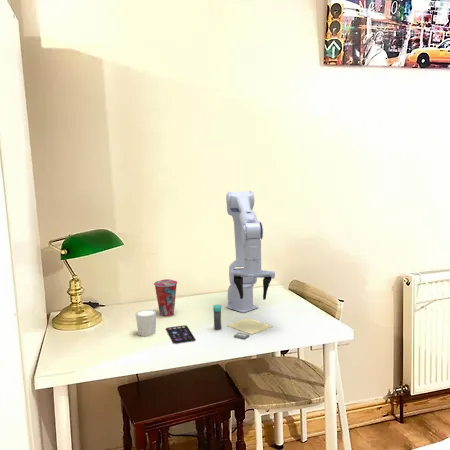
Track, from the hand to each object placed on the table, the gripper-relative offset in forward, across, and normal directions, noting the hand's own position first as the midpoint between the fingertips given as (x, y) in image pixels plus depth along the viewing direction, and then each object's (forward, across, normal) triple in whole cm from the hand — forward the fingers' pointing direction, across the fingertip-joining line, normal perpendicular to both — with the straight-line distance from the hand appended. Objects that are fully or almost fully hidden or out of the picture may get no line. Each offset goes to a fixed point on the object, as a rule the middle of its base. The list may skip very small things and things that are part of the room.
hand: (253, 298), depth 169 cm
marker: (+10, -12, -2) cm, 16 cm away
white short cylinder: (+10, -34, -10) cm, 37 cm away
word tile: (+10, -3, -9) cm, 14 cm away
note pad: (+10, -2, +1) cm, 10 cm away
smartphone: (+11, -23, -9) cm, 27 cm away
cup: (+10, -34, +10) cm, 37 cm away
